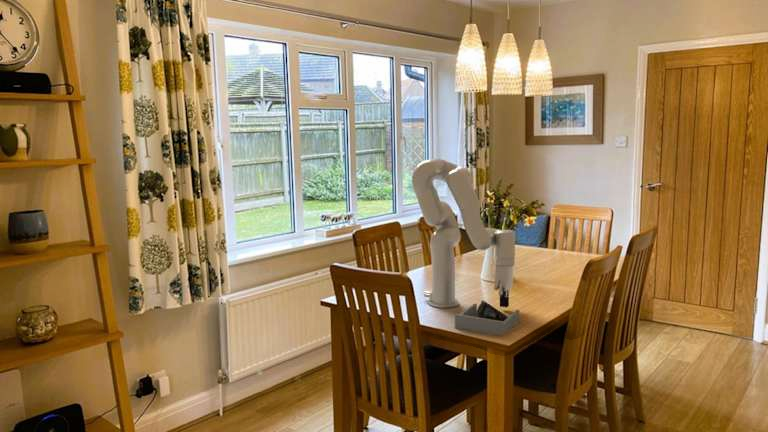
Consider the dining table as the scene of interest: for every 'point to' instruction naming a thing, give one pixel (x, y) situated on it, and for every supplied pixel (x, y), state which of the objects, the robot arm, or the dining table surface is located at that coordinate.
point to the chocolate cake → (490, 312)
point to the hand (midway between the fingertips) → (504, 306)
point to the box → (484, 322)
